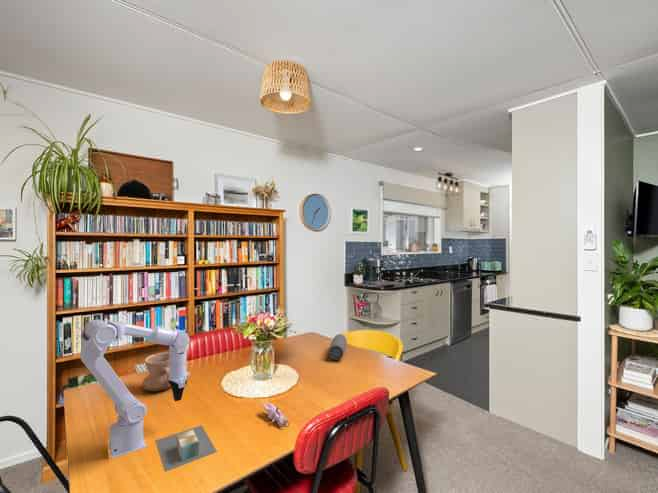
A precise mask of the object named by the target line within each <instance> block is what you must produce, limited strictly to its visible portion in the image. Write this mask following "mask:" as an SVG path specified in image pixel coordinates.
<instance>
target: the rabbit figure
mask: <svg viewBox="0 0 658 493" xmlns="http://www.w3.org/2000/svg"><path fill="white" fill-rule="evenodd" d="M262 407H263V409H264V410H265V412H266V413H267V415H268V419H270V420H272V422H271V423H273V422H274V421H276V422H277V425H278V426H279V427H281V428H282V430H283V429H284V428H285V425H287V427H289V426H290V422H289V419H287V418H286V417H287V414H282V412H281V409H280V407H279V406H277V407H276V406H275V405H274V404H273V403H271V402H270V403H266V404H264V405H262Z"/></svg>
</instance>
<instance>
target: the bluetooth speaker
mask: <svg viewBox="0 0 658 493" xmlns="http://www.w3.org/2000/svg"><path fill="white" fill-rule="evenodd" d="M347 343H348V342H347V337H346V336H345V335H344V334H342V333H341V334H340V333H338V334H336V335H335V336H334V337H333V338H332V341H331V343H330V346H329V350H328V353H329V354H328V355H329V357H330V358H331V359H333V360H336V361H337V360H340V359H341V358H342V357H343V356H344V354H345V352H346V350H347Z"/></svg>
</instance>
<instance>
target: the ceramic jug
mask: <svg viewBox="0 0 658 493" xmlns="http://www.w3.org/2000/svg"><path fill="white" fill-rule="evenodd" d="M144 364H145V367H146V369H147V371H148V373H149V374H148V375H147V376H146V377H144V379H143V380H142V382H141V386H142V388H143V390H145V391H147V392H162V391H165V390H168V389H171V386H170V384H169V381H170V380H169V378H168V377H169V352H160V353H156V354H152V355H149V356H147V357H146V358H145V359H144Z"/></svg>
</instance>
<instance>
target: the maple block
mask: <svg viewBox="0 0 658 493" xmlns="http://www.w3.org/2000/svg"><path fill="white" fill-rule="evenodd" d="M177 450H178V452H179V455H180V457H181V460H182V461H183V460H186V459H189V458H191V457H194V456H197V455H199V441H198V439H197V437H196V435H195V433H194V431H193V430H191V431H187V432H184V433H181V434H178V435H177Z"/></svg>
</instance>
